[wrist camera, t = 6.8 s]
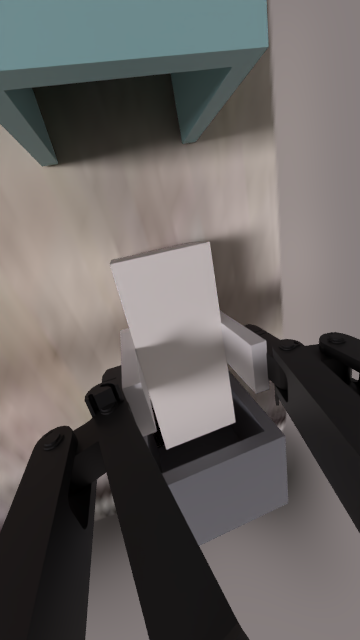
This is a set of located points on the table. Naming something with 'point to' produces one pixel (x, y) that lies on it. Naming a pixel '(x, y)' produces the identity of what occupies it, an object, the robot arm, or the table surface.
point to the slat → (178, 337)
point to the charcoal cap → (227, 470)
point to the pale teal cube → (125, 54)
